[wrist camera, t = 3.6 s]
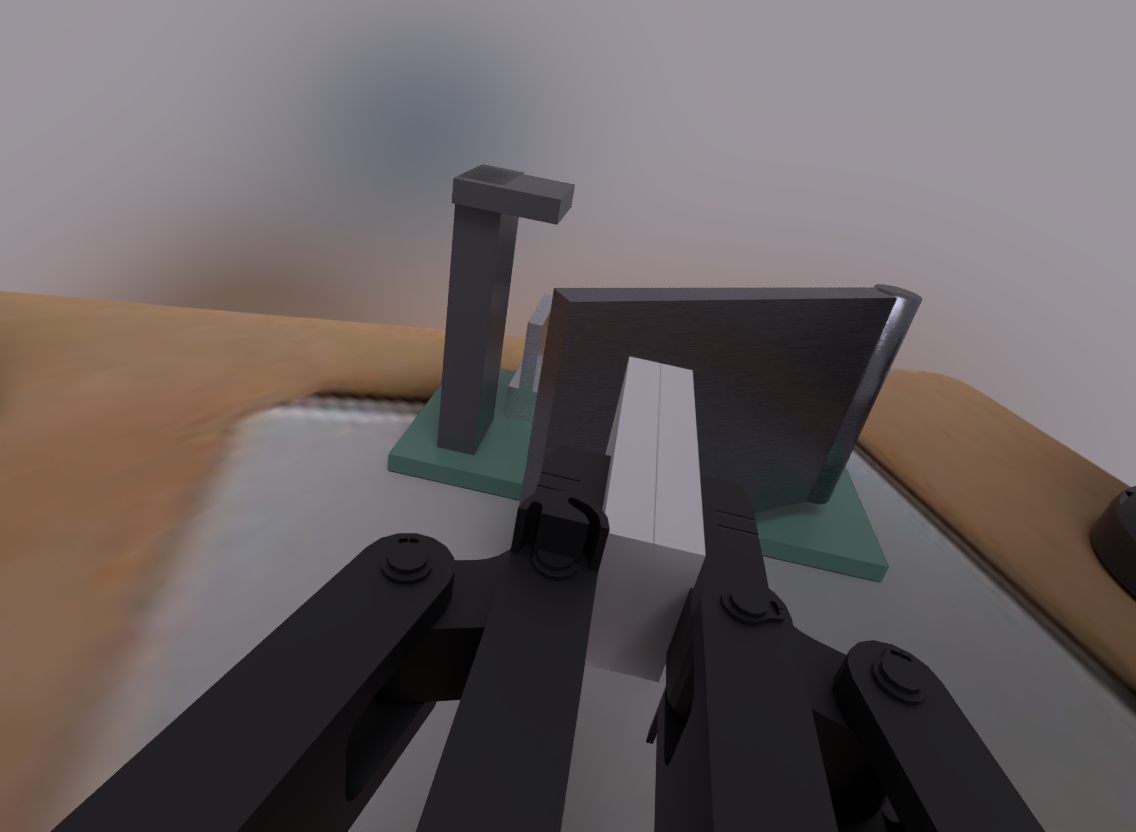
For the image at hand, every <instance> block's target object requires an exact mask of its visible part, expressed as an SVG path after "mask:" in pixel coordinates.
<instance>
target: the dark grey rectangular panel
mask: <svg viewBox="0 0 1136 832" xmlns="http://www.w3.org/2000/svg"><path fill="white" fill-rule="evenodd" d="M921 301H922V298H921V297H920V296H919V295H917V294H915V293H913V292H910V291H908V290H905V289H902V288H898V287H894V286H890V285H882V284H879V285H875V286H874V288H554V292H553V298H552V304H551V310H550V317H549V323H548V329H547V336H546V342H545V348H544V354H543V361H542V367H541V373H540V379H539V386H538V392H537V398H536V404H535V411H534V417H533V423H532V429H531V436H530V442H529V448H528V455H527V461H526V467H525V473H524V480H523V486H522V492H521V498H520V505H521V503H522V502H523V501H524V499H525V498H527V497H529V496H531V495H533V494H535V491H536V488H537V485H538V482H539V479H540V476H541V473H542V470H543V467H544V464H545V461H546V458H547V456H548V455H549V454H550V453H552V452H553V451H554V450H556V449H557V448H558V447H560V446H561V445H565V446H570V447H574V448H578V449H583V450H587V451H591V452H596V453H600V454H604V455H605V454H606V450H607V446H608V442H609V438H610V434H611V430H612V426H613V421H614V417H615V413H616V409H617V405H618V401H619V397H620V393H621V389H622V385H623V381H624V376H625V372H626V368H627V364H628V360H629V356H630V357H635V358H639V359H644V360H648V361H653V362H657V363H662V364H666V365H671V366H675V367H680V368H684V369H689V370H693V384H694V399H695V413H696V427H697V441H698V456H699V470H700V475H704V476H708V477H713V478H717V479H721V480H726V481H730V482H734V483H739V485H740V486H741V487H742V489H743V490H744V491H745V493H746V494H747V495H748V497H749V498H750V499H751V501H752V503H753V508H754V513H759V512H763V511H768V510H772V509H777V508H782V507H786V506H791V505H795V504H800V503H804V502H810V503H813V504H826V503H828V502H829V500H830V498H831V496H832V494H833V492H834V489H835V487H836V485H837V483H838V481H839V479H840V476H841V474H842V472H843V470H844V468H845V466H846V463H847V461H848V459H849V457H850V455H851V453H852V450H853V448H854V446H855V444H856V442H857V440H858V437H859V435H860V433H861V431H862V429H863V427H864V424H865V422H866V420H867V418H868V416H869V414H870V411H871V409H872V407H873V405H874V403H875V401H876V398H877V396H878V394H879V392H880V390H881V388H882V385H883V383H884V381H885V379H886V377H887V375H888V372H889V370H890V368H891V366H892V364H893V362H894V359H895V357H896V355H897V353H898V350H899V349H900V347H901V344H902V342H903V340H904V338H905V336H906V334H907V331H908V329H909V327H910V325H911V323H912V320H913V318H914V316H915V314H916V312H917V310H918V307H919V305H920V303H921ZM520 505H519V506H520Z"/></svg>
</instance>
